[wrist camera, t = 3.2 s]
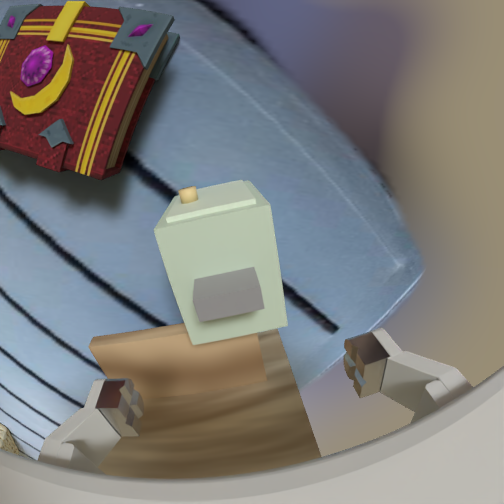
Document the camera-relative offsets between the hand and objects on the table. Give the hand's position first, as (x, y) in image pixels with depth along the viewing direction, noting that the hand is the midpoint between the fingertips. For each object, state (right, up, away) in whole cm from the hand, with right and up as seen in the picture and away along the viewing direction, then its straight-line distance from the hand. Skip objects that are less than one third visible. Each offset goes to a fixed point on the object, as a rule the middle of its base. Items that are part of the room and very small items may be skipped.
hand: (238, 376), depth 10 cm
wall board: (-5, -3, +15) cm, 16 cm away
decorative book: (-14, +18, +6) cm, 23 cm away
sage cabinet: (-2, +6, +12) cm, 13 cm away
